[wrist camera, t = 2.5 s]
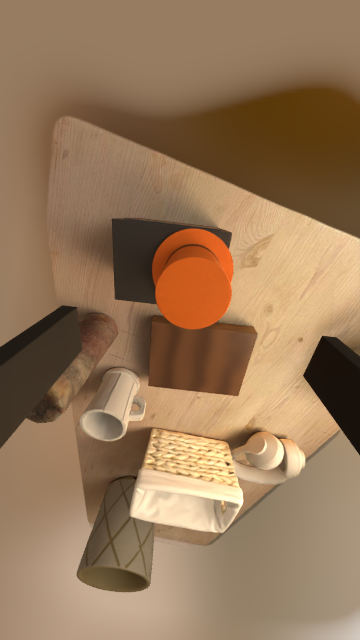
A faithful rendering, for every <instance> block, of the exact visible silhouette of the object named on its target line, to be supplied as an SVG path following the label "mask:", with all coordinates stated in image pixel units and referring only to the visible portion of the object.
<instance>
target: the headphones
mask: <svg viewBox="0 0 360 640" xmlns="http://www.w3.org/2000/svg"><path fill="white" fill-rule="evenodd" d="M230 452H231V456H232V460H233V465H234V469H235V474H236V477H237V478H239V479H242V480H245V481H248V482H252V483H259V484H280V483H283V482H285V481H286V479H289V478H290V477H296V476H298V475H299V472H300V469H301V468H304V466H305V456H304V453H303V451H302V450H301V449H299V448H298V447H297V445H296V444H295V442H294V441H293V440H289V439H279V440H278V439H277V438H276V437H275V436H274V435H272V434H270V433H268V432H263V431H262V432H257V433H255V434H253V435H252V436H251V437H250V438H249V439H248V441H247V443H246V445H244V446H241V447H238V448H236V449H234V450H232V451H230ZM242 454H246V457H247V460H248V461H249V462H250V463H251V464H252V465H254V466H255V467H251V466H246V465H243V464H241V463H239V462H237V461H235V460H234V459H235V458H236V457H237V456H239V455H242Z"/></svg>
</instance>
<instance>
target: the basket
mask: <svg viewBox="0 0 360 640" xmlns="http://www.w3.org/2000/svg"><path fill="white" fill-rule="evenodd" d="M242 496H243V494H242V490H241V488H239V484H238V479H237V477H236V474H235V469H234V465H233V460H232V456H231V452H230V449H229V445H228V443H227V442H224V441H220V440H214V439H208V438H204V437H197V436H193V435H188V434H184V433H180V432H170V431H166V430H160V429H155V428H154V429H152V431H151V436H150V440H149V443H148V447H147V451H146V453H145V459H144V461H143V464H142V467H141V469H140V470H139V471H138V476H137V480H136V483H135V488H134V492H133V496H132V501H131V506H130V516H131V517H134V518H137V519H140V520H144V521H148V522H153V523H159V524H164V525H171V526H177V527H183V528H188V529H193V530H198V531H206V532H221V533H223V532H224V531H225V530H226V529H227V528H228V526H229V525H230V524H231V523H232V521H233V520H234V518H235V517H236V515H237V513H238V511H239V509H240V507H241V506H242V504H243V497H242ZM224 501H226V503H227V507H226V509H225V507H224Z"/></svg>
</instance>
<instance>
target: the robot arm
mask: <svg viewBox="0 0 360 640" xmlns="http://www.w3.org/2000/svg"><path fill="white" fill-rule="evenodd" d="M81 351H82V344H81V336H80V328H79V320H78V312H77V307H71V306H63V305H62V306H61V307H59V308H58V309H56V310H55V311H54V312H52V313H50V314H49V315H47V316H46V317H45V318H43V319H42V320H40V321H39V322H37V323H36V324H34V325H33V326H31V327H30V328H28V329H27V330H25V331H24V332H22V333H21V334H19V335H18V336H16V337H15V338H13V339H12V340H10V341H9V342H7V343H6V344H4V345H3V346H1V347H0V448H1V447H2V446H3V444H4V443H5V442H6V441H7V440H8V439H9V437H10V436H11V435H12V434H13V433H14V431H15V430H16V429H17V428H18V427H19V425H20V424H21V423H22V422H23V421H24V419H25V418H26V417H27V416H28V415H29V413H30V412H31V411H32V410H33V409H34V407H35V406H36V405H37V404H38V403H39V401H40V400H41V399H42V398H43V397H44V395H45V394H46V393H47V392H48V391H49V389H50V388H51V387H52V386H53V385H54V383H55V382H56V381H57V380H58V379H59V377H60V376H61V375H62V374H63V373H64V371H65V370H66V369H67V368H68V367H69V365H70V364H71V363H72V362H73V361H74V359H75V358H76V357H77V356H78V355H79V353H80V352H81ZM303 376H304V378H305V379H306V381H307V382H308V383H309V385H310V386H311V388H312V389H313V390H314V392H315V393H316V395H317V396H318V397H319V399H320V400H321V402H322V403H323V404H324V406H325V407H326V409H327V410H328V411H329V413H330V414H331V416H332V417H333V418H334V420H335V421H336V423H337V424H338V425H339V427H340V428H341V430H342V431H343V432H344V434H345V435H346V437H347V438H348V439H349V440H350V442H351V444H352V445H353V446H354V448H355V449H356V451H357V452H358V453H359V455H360V356H359V355H357V354H356V353H355V352H354V351H352V350H351V349H350V348H349V347H348V346H346V345H345V344H344V343H343V342H341V341H340V340H339V339H338V338H336V337H328V336H322V337H321V339H320V341H319V344H318V346H317V348H316V350H315V352H314V354H313V356H312V358H311V360H310V362H309V364H308V367H307V369H306V371H305V373H304V375H303Z"/></svg>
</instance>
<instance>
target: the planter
mask: <svg viewBox="0 0 360 640" xmlns="http://www.w3.org/2000/svg"><path fill="white" fill-rule="evenodd" d="M135 483H136V480H135V479H134V477H133V476H128V477H124V478H121V479H118V480H116V481H113V482H112V483H111V484H110V485H109V486H108V488H107V490H106V493H105V496H104V499H103V502H102V504H101V507H100V510H99V513H98V515H97V518H96V521H95V523H94V526H93V529H92V532H91V534H90V537H89V540H88V542H87V545H86V548H85V551H84V554H83V557H82V559H81V562H80V565H79V568H78V571H77V577H78V579H79V580H80V581H82V582H83V583H85V584H87V585H89V586H92V587H95V588H98V589H102V590H108V591H115V592H136V591H141V590H144V589H146V588H148V587H149V586H150V581H151V570H152V557H153V543H154V529H155V523H153V522H148V521H144V520H140V519H137V518H134V517H131V516H130V506H131V501H132V496H133V492H134V488H135Z"/></svg>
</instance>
